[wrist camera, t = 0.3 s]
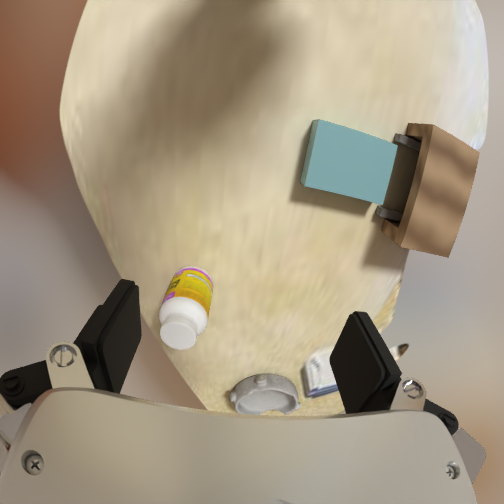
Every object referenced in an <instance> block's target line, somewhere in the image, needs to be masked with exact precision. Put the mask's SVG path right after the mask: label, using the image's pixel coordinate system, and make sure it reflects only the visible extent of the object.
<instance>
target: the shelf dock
mask: <svg viewBox="0 0 504 504" xmlns="http://www.w3.org/2000/svg"><path fill="white" fill-rule="evenodd" d="M407 135H408V136H410V137H412V138H415V139H417V140H419V141H421V142H422V143H420V142H418V141H415V140H413V139H411V138H409V137H406V136H404V135H402V134H395V139H394V141H396V142H398V143H401V144H403V145H406V146H408V147H410V148H413V149H415V150H417V151H419V152H420V153H419V157H418V162H417V166H416V170H415V174H414V178H413V182H412V186H411V189H410V193H409V196H408V200H407V203H406V206H405V210H404V213H401V212H398V211H394V210H391V209H387V208H383V207H380V206H378V207H377V210H376V214H377V215H379V216H381V217H385V218H389V219H392V220H396V221H400V223H399V222H395V221H392V220H388V219H385V220H384V223H383V226H382V229H381V231H382V232H384V233H385V234H386V235H387V236H388V237H390V238H391V239H392V240H393V241H394V242H395V243H397V244H398V245H399V246H400V247H403V248H408V249H412V250H417V251H422V252H426V253H430V254H435V255H439V256H443V257H449V255H450V252H451V250H452V247H453V244H454V242H455V239H456V237H457V234H458V231H459V228H460V225H461V222H462V219H463V216H464V213H465V210H466V206H467V203H468V199H469V196H470V192H471V189H472V185H473V180H474V176H475V172H476V168H477V163H478V158H479V152H478V151H476V150H475V149H473V148H472V147H470V146H469V145H467V144H466V143H464V142H462V141H461V140H459V139H458V138H456V137H454V136H453V135H451V134H449V133H448V132H446V131H444V130H442V129H440V128H439V127H437V126H435V125H431V124H416V123H409V124H408V129H407Z"/></svg>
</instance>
